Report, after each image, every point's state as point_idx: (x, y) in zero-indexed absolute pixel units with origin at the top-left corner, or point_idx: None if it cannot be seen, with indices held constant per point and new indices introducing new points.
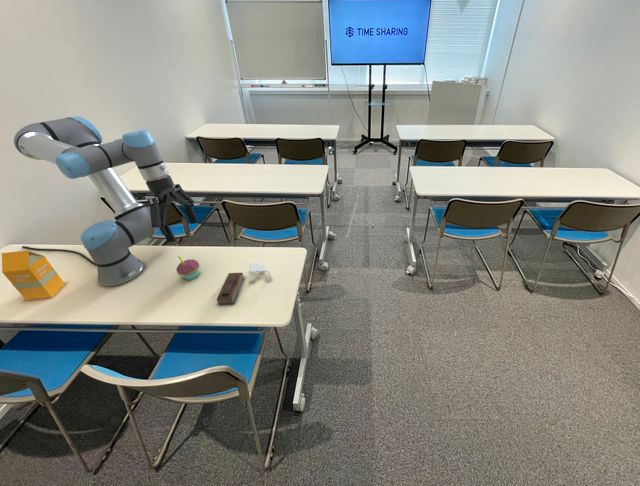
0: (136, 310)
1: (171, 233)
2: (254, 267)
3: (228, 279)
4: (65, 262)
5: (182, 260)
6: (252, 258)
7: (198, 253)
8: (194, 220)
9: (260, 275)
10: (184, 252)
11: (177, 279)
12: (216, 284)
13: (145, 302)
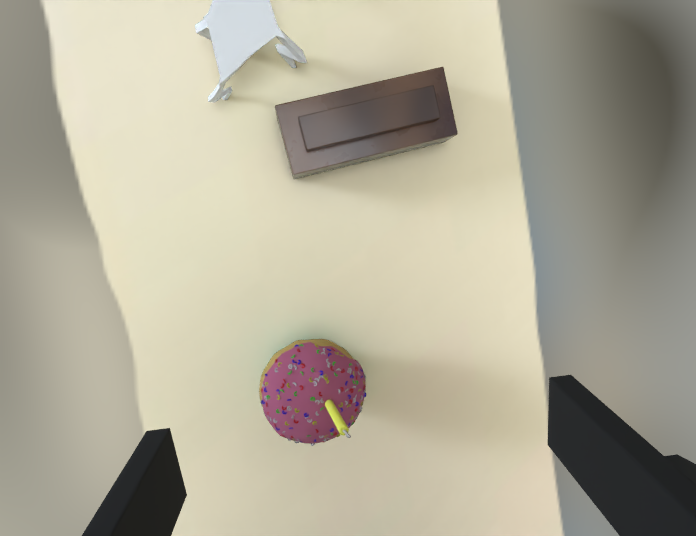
0: (517, 436)
1: (629, 435)
2: (244, 31)
3: (349, 136)
4: None
5: (334, 414)
6: (123, 149)
7: None
8: (160, 470)
9: None
10: None
11: None
12: (339, 223)
13: (479, 437)
